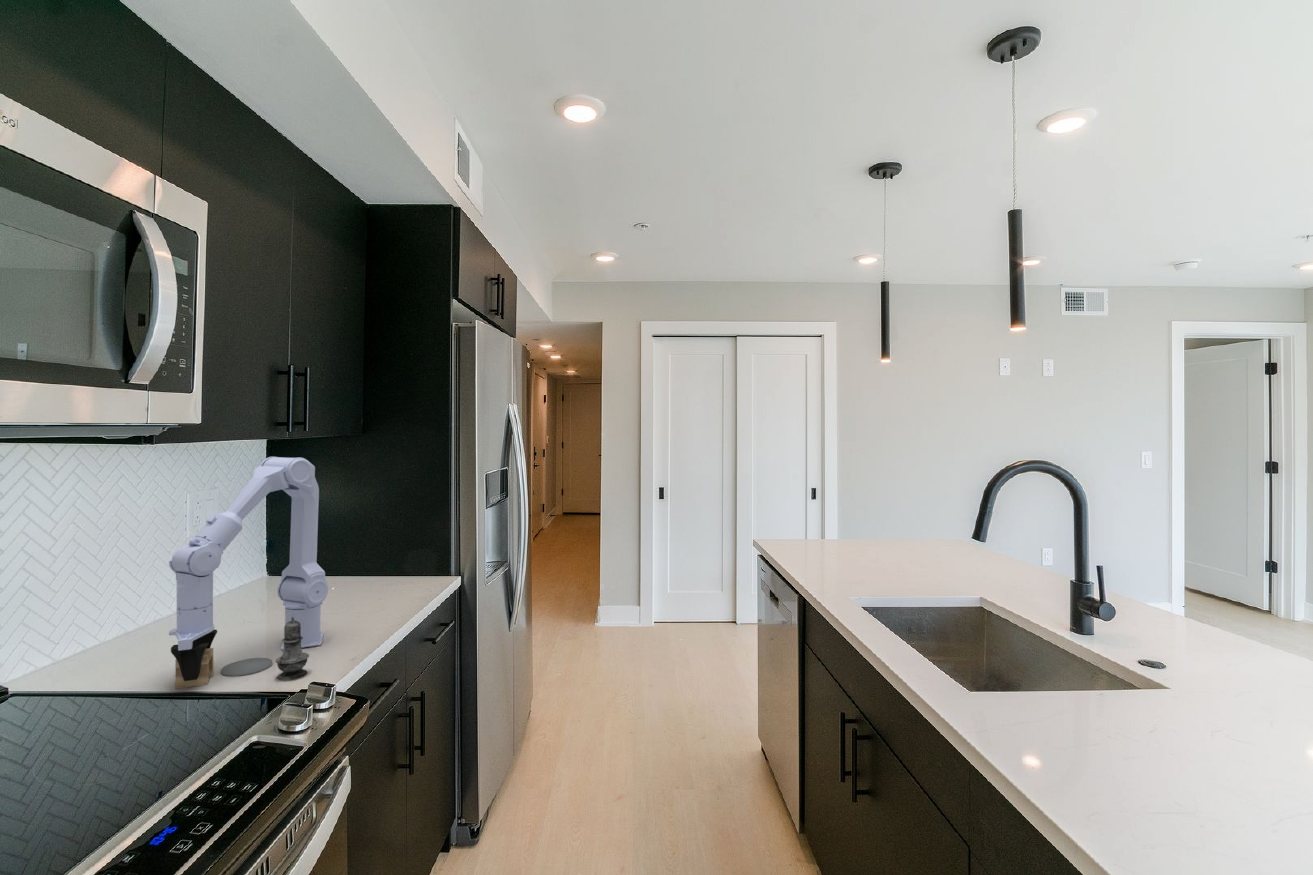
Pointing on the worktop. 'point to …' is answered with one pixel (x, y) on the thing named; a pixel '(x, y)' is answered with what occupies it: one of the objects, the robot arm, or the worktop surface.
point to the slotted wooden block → (204, 673)
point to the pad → (246, 667)
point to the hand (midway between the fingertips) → (194, 674)
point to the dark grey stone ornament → (292, 653)
